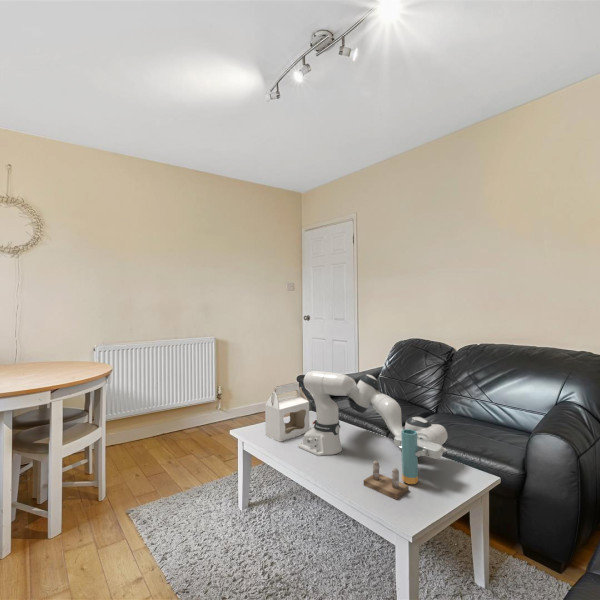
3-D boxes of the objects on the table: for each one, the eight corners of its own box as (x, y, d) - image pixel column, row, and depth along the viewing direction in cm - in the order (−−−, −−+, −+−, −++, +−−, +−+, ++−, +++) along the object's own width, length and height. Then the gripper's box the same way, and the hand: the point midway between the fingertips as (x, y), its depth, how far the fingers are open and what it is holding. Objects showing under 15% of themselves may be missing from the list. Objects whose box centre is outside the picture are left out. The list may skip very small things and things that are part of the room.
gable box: (295, 425, 213) (294, 379, 213) (310, 431, 203) (309, 383, 203) (265, 435, 198) (264, 385, 198) (279, 442, 188) (278, 389, 188)
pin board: (363, 485, 143) (363, 462, 143) (376, 477, 150) (376, 455, 150) (396, 499, 132) (395, 475, 132) (408, 490, 139) (408, 467, 139)
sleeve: (399, 480, 145) (399, 431, 145) (407, 475, 149) (406, 428, 149) (412, 485, 141) (412, 435, 141) (420, 480, 145) (419, 431, 145)
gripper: (448, 456, 147) (432, 468, 137) (404, 442, 161) (387, 452, 152) (448, 441, 147) (432, 451, 137) (403, 429, 161) (387, 437, 152)
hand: (408, 451), depth 145 cm, fingers closed on sleeve, 6 cm apart
